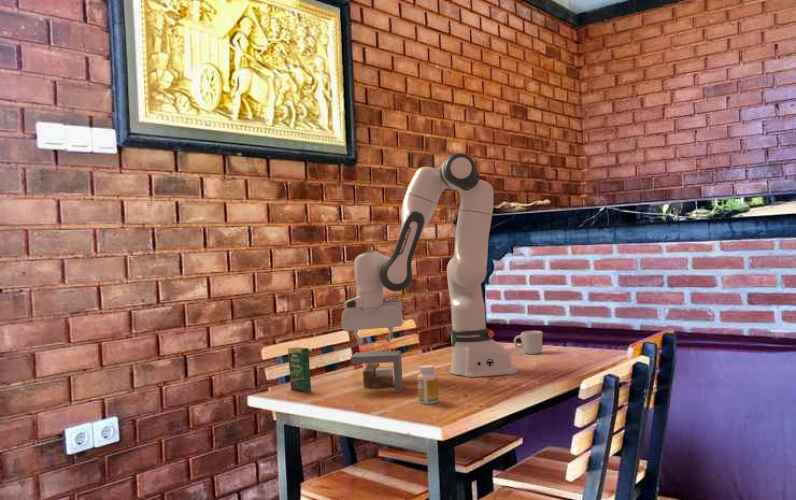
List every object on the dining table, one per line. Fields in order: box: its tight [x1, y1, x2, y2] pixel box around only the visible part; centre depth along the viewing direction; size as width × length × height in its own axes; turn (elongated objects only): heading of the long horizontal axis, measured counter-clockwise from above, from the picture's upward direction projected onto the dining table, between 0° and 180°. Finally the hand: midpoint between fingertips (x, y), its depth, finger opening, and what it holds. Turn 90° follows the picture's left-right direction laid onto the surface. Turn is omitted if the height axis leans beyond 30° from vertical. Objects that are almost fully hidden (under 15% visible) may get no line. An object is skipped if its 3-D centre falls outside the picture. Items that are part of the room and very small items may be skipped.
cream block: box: [376, 366, 395, 384], centre depth 203 cm, size 5×5×5 cm
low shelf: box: [350, 350, 404, 394], centre depth 193 cm, size 14×8×11 cm, turn 84°
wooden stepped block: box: [362, 363, 395, 389], centre depth 206 cm, size 9×16×5 cm, turn 175°
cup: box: [513, 330, 544, 355], centre depth 244 cm, size 11×8×8 cm
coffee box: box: [287, 346, 312, 393], centre depth 201 cm, size 8×3×13 cm, turn 42°
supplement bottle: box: [417, 364, 440, 405], centre depth 176 cm, size 5×5×10 cm
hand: (374, 342), depth 213 cm, fingers open, 8 cm apart
